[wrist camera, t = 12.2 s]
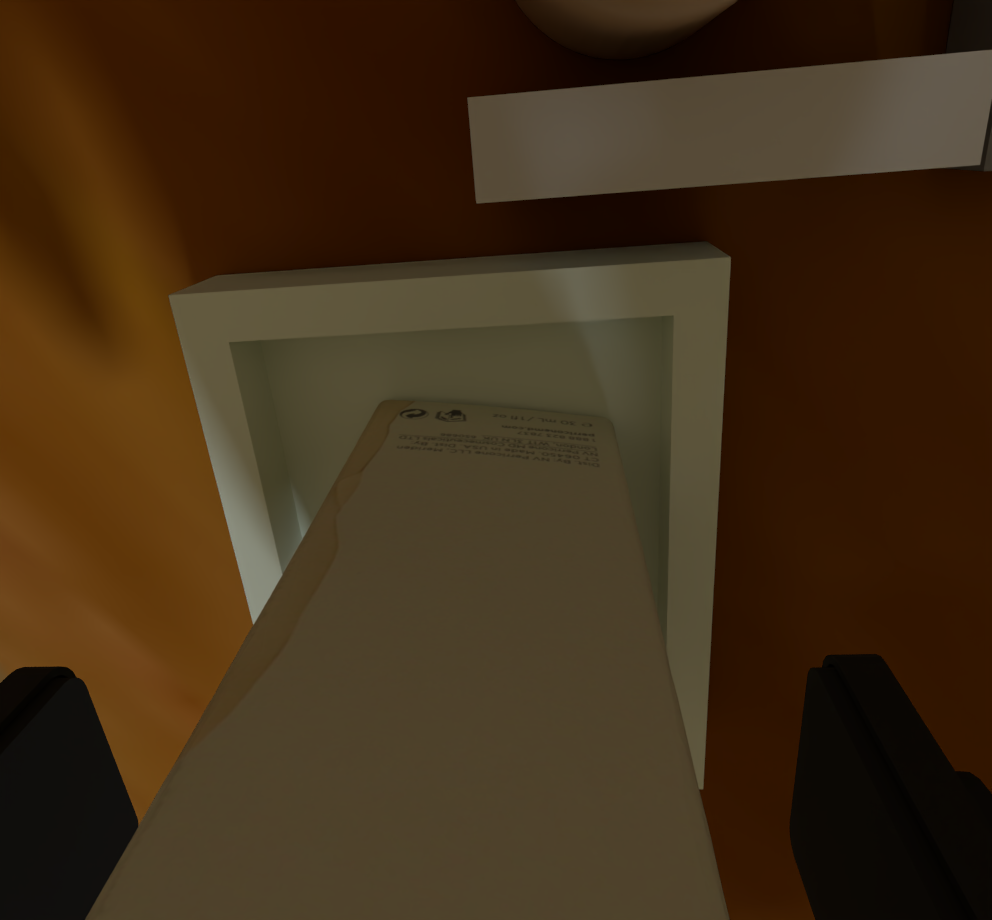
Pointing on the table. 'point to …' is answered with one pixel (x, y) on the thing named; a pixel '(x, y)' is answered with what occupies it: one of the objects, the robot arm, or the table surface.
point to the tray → (475, 393)
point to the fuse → (621, 24)
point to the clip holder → (744, 124)
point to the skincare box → (443, 703)
